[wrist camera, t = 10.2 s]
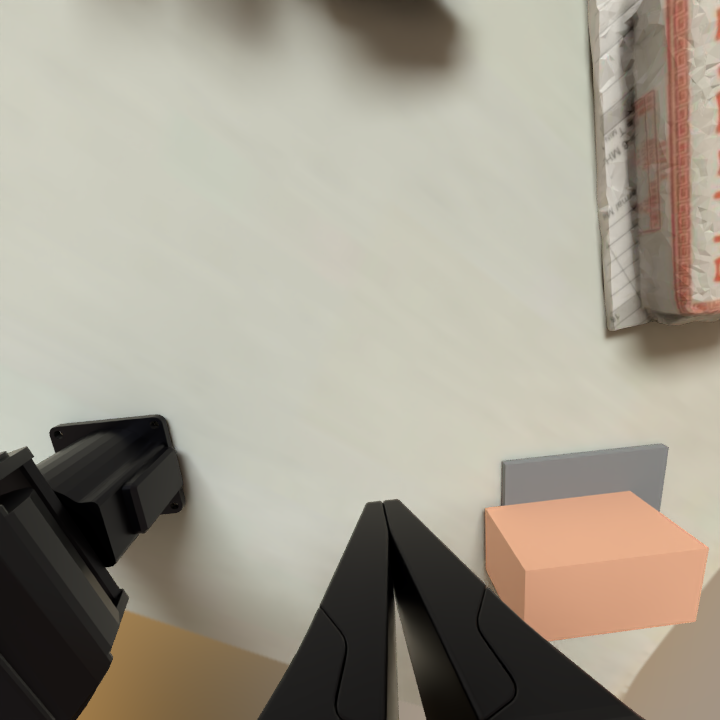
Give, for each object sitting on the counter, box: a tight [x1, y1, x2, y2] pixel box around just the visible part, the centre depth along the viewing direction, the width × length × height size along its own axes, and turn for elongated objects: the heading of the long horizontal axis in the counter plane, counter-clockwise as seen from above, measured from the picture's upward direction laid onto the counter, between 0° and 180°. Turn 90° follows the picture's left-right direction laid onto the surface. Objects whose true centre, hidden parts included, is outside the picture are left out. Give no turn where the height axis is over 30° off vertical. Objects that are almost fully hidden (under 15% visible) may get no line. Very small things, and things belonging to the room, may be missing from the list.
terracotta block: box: [485, 491, 709, 641], centre depth 21 cm, size 5×5×10 cm
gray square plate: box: [501, 444, 669, 512], centre depth 23 cm, size 11×11×1 cm
